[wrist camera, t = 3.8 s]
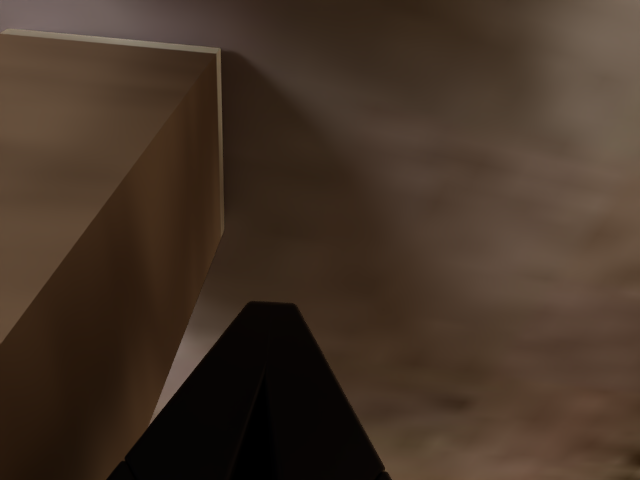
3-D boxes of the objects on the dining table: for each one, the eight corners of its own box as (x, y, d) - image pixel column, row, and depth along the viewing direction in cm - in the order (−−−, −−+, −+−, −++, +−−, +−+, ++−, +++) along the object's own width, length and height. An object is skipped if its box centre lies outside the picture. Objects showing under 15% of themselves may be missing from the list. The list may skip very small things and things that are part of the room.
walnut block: (224, 229, 15) (39, 704, 7) (47, 211, 15) (-347, 657, 7) (220, 48, 13) (-79, 449, 4) (8, 28, 13) (-680, 382, 4)
